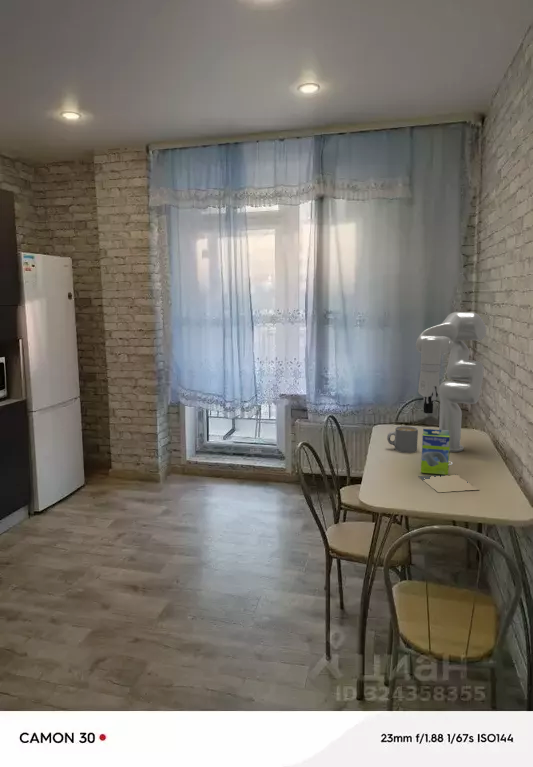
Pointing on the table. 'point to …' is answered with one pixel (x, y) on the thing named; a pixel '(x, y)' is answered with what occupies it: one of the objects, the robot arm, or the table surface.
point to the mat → (430, 476)
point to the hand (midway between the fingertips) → (428, 412)
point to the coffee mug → (404, 439)
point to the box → (435, 451)
